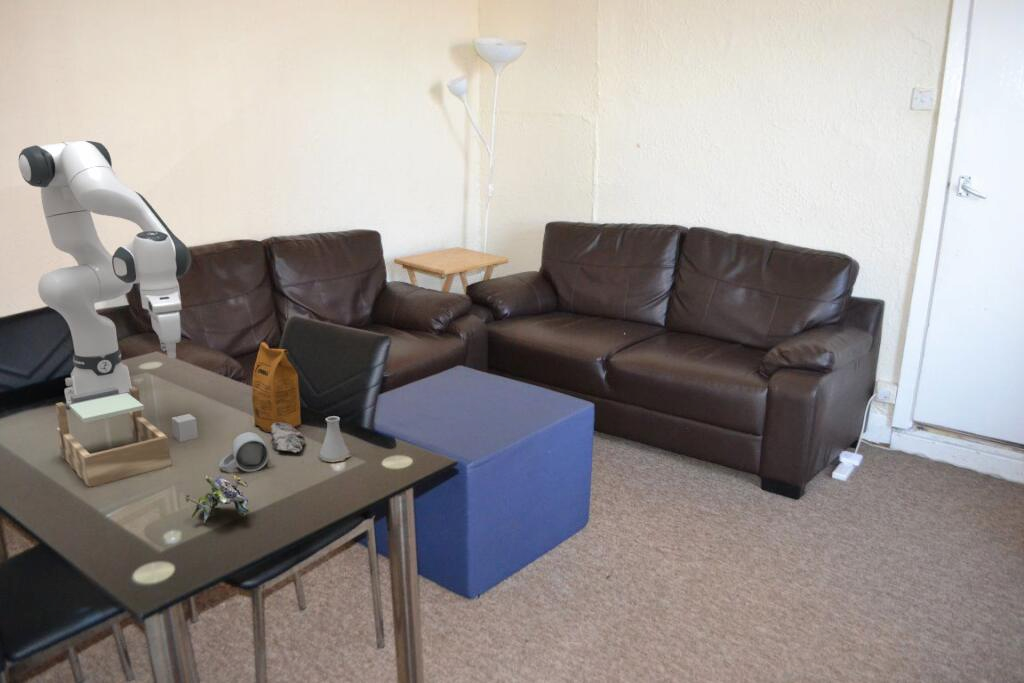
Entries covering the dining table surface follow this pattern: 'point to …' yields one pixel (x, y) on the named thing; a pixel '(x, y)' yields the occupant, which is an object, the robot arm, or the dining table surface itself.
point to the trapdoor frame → (115, 451)
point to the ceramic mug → (246, 453)
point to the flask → (333, 441)
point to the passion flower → (222, 496)
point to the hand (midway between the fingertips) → (168, 353)
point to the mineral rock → (286, 437)
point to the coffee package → (275, 389)
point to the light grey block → (184, 427)
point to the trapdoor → (103, 404)
